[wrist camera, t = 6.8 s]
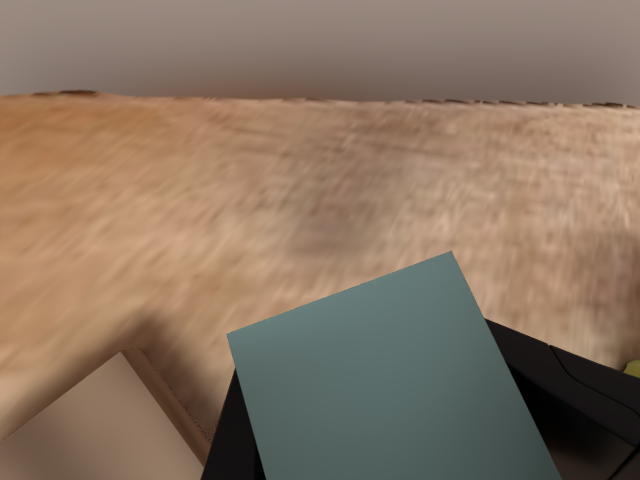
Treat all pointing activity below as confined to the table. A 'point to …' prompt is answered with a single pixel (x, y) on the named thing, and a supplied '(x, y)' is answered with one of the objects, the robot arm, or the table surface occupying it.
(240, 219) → the table surface
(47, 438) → the walnut block
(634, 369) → the plant pot
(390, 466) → the teal block
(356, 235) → the table surface
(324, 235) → the table surface
